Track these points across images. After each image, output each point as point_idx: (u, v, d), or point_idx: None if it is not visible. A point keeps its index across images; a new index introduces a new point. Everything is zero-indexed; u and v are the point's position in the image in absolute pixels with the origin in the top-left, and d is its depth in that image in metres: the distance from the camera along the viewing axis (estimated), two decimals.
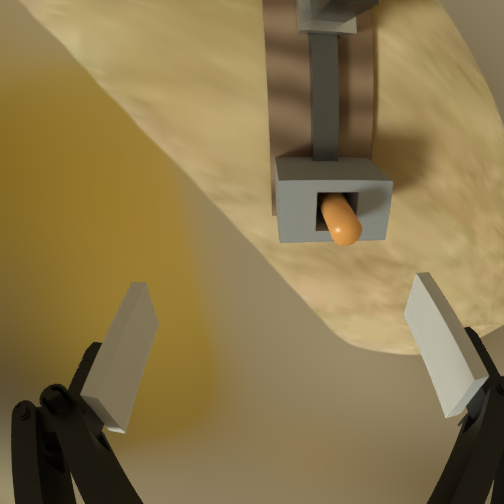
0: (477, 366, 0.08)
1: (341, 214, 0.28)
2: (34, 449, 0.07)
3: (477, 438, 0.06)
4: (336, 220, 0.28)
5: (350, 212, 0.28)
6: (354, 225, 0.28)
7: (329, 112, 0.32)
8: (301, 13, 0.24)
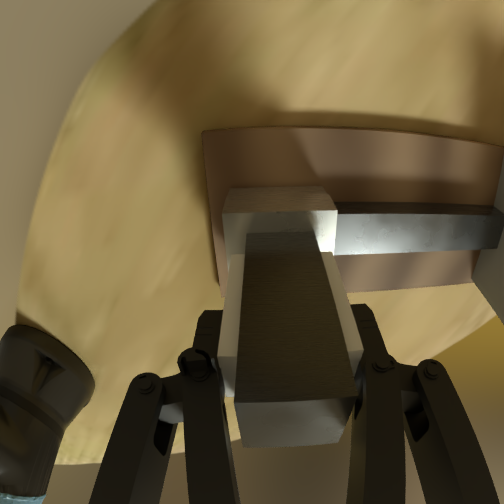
0: (351, 339, 0.11)
1: None
2: (146, 429, 0.08)
3: (367, 427, 0.08)
4: None
5: None
6: None
7: (449, 228, 0.19)
8: None
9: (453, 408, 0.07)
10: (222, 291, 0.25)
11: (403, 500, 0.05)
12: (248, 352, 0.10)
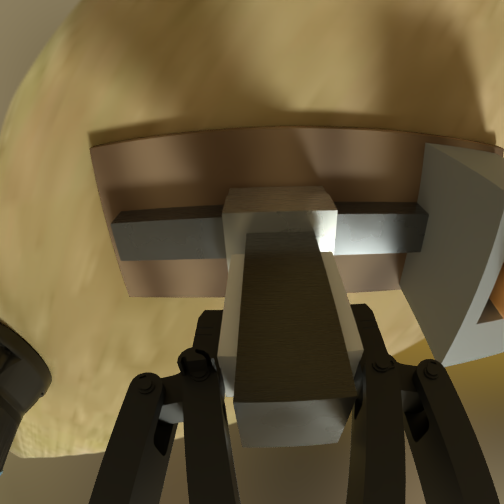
0: (351, 339, 0.11)
1: None
2: (146, 429, 0.08)
3: (367, 427, 0.08)
4: None
5: None
6: None
7: (346, 229, 0.19)
8: None
9: (453, 408, 0.07)
10: (129, 291, 0.25)
11: (403, 500, 0.05)
12: (247, 352, 0.10)
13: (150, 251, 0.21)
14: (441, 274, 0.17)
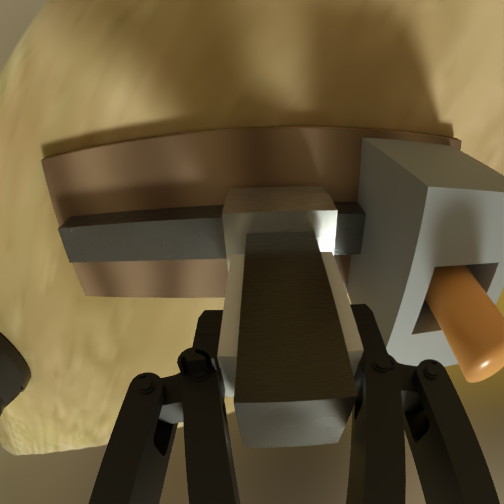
0: (351, 339, 0.11)
1: (461, 364, 0.11)
2: (146, 429, 0.08)
3: (367, 427, 0.08)
4: None
5: (465, 340, 0.11)
6: (490, 353, 0.10)
7: None
8: None
9: (453, 408, 0.07)
10: (84, 290, 0.25)
11: (403, 500, 0.05)
12: (248, 352, 0.10)
13: (92, 253, 0.21)
14: (375, 278, 0.17)
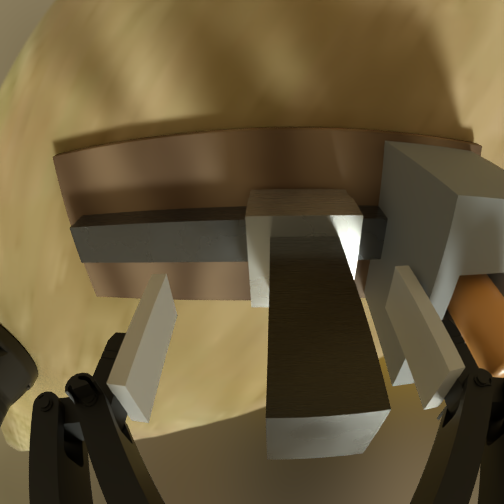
0: (453, 357, 0.09)
1: None
2: (54, 442, 0.07)
3: (457, 433, 0.07)
4: None
5: (486, 347, 0.10)
6: None
7: None
8: None
9: None
10: (95, 291, 0.25)
11: None
12: (279, 364, 0.09)
13: (105, 254, 0.21)
14: None
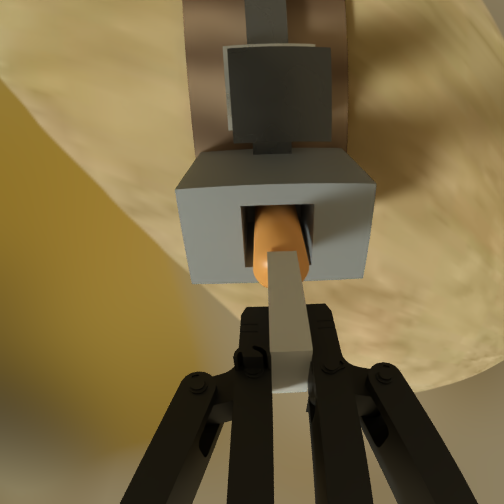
0: (301, 339, 0.11)
1: (271, 240, 0.16)
2: (193, 431, 0.08)
3: (322, 432, 0.08)
4: (261, 249, 0.16)
5: (289, 234, 0.17)
6: None
7: None
8: (229, 103, 0.19)
9: (413, 412, 0.08)
10: None
11: (371, 502, 0.06)
12: None
13: None
14: (258, 166, 0.21)
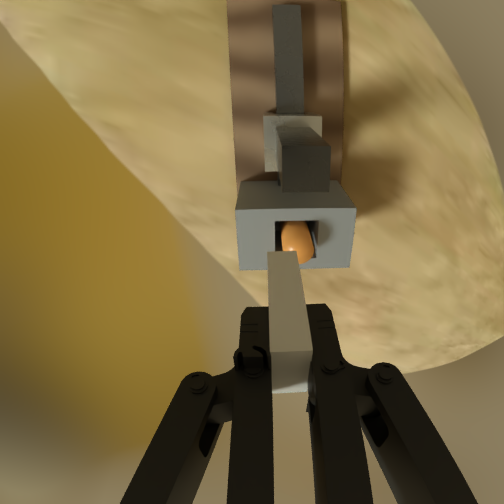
0: (301, 339, 0.11)
1: (293, 235, 0.30)
2: (194, 431, 0.08)
3: (322, 432, 0.08)
4: (287, 240, 0.30)
5: (303, 232, 0.30)
6: (305, 245, 0.30)
7: None
8: (266, 154, 0.32)
9: (412, 411, 0.08)
10: (232, 0, 0.26)
11: (371, 502, 0.06)
12: None
13: (280, 24, 0.26)
14: (283, 195, 0.33)
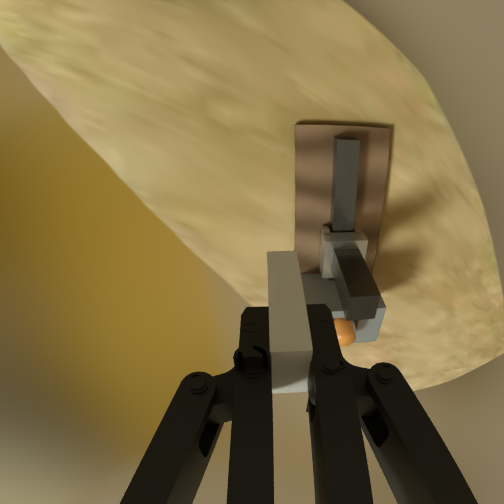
0: (301, 339, 0.11)
1: (343, 329, 0.41)
2: (193, 431, 0.08)
3: (321, 432, 0.08)
4: (339, 333, 0.41)
5: (349, 326, 0.41)
6: (350, 335, 0.41)
7: None
8: (324, 267, 0.43)
9: (413, 411, 0.08)
10: (300, 126, 0.37)
11: (371, 502, 0.06)
12: None
13: (342, 158, 0.37)
14: (334, 294, 0.44)
